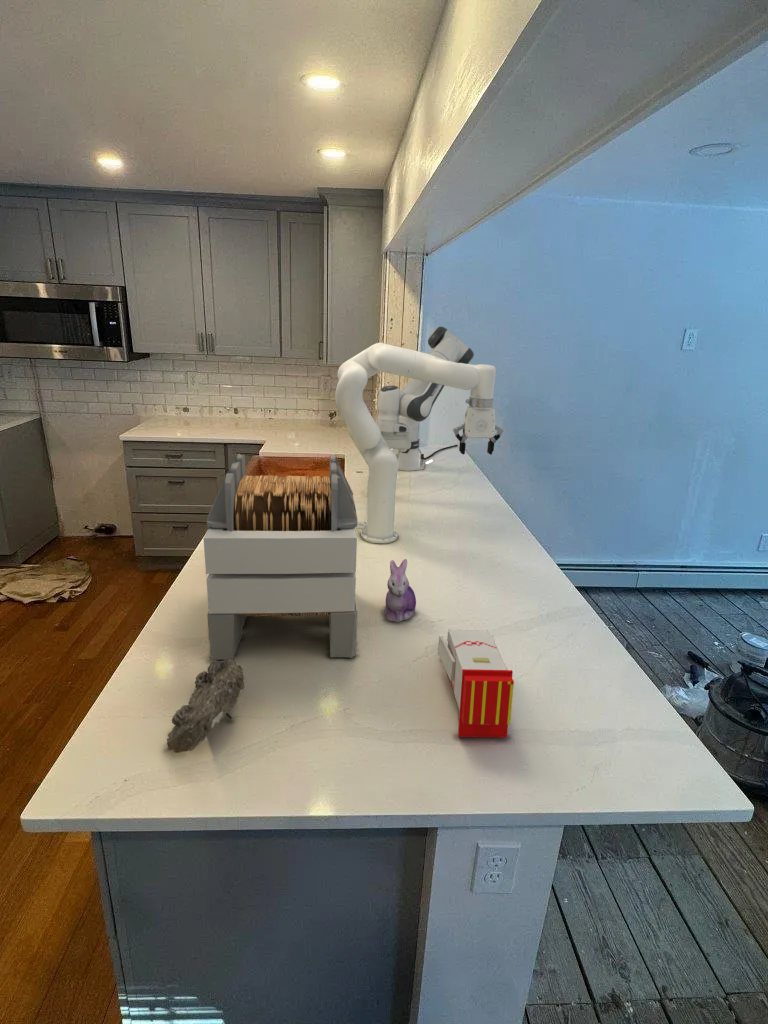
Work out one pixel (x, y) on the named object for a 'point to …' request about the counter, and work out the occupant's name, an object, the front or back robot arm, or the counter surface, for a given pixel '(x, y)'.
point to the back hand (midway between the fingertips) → (386, 458)
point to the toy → (478, 682)
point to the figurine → (399, 594)
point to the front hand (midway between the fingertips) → (476, 453)
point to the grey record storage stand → (281, 554)
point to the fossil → (206, 705)
